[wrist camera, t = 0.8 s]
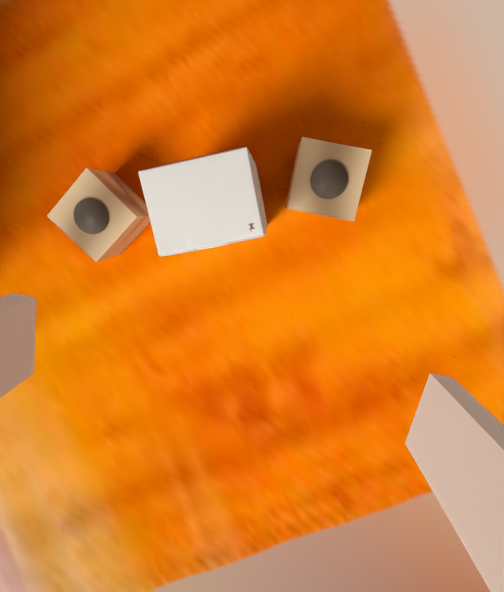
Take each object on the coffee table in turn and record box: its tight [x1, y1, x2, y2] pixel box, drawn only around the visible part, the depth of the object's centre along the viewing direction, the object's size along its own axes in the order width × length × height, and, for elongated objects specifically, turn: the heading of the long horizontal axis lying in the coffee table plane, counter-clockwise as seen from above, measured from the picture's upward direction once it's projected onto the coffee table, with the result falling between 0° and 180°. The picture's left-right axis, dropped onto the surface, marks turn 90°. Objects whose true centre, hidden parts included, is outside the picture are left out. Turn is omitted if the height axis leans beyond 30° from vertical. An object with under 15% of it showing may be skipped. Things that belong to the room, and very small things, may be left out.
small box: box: [138, 147, 267, 256], centre depth 31 cm, size 8×6×13 cm
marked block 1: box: [47, 168, 150, 262], centre depth 36 cm, size 6×6×6 cm
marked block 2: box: [285, 137, 372, 221], centre depth 34 cm, size 6×6×6 cm
